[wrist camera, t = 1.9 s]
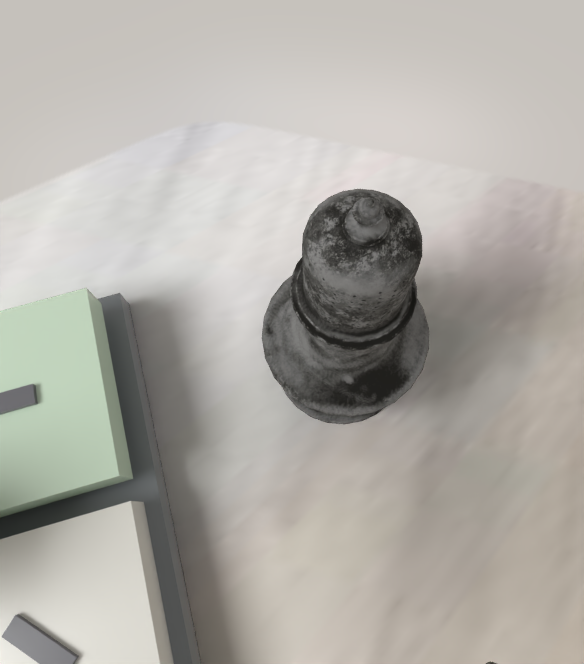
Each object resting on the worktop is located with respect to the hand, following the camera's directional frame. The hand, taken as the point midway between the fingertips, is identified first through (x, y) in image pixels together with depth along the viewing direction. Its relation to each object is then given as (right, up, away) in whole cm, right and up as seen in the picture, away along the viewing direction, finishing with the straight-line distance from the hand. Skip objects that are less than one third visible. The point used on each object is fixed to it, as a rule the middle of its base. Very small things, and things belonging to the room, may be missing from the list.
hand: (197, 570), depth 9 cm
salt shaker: (+4, +3, +14) cm, 15 cm away
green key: (-8, 0, +14) cm, 16 cm away
